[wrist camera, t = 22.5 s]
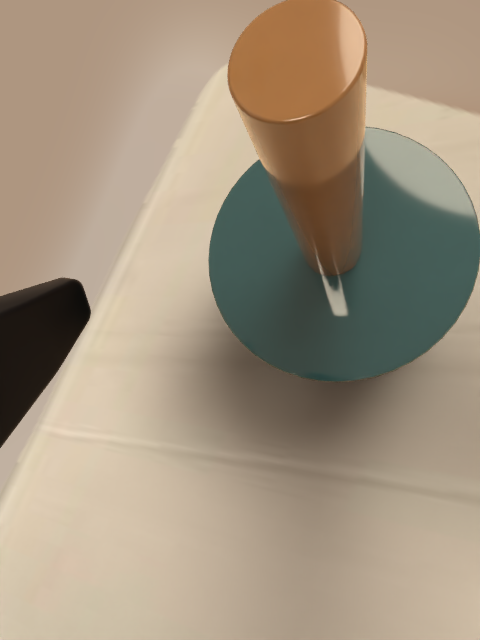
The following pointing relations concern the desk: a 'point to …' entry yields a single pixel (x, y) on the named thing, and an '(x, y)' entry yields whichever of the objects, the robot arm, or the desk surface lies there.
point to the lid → (334, 211)
